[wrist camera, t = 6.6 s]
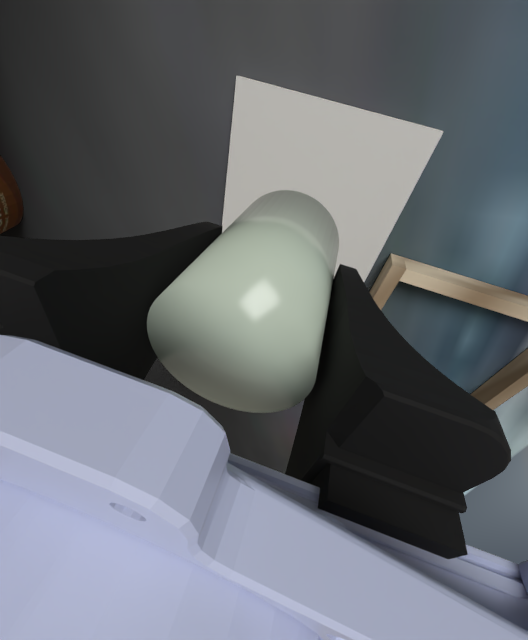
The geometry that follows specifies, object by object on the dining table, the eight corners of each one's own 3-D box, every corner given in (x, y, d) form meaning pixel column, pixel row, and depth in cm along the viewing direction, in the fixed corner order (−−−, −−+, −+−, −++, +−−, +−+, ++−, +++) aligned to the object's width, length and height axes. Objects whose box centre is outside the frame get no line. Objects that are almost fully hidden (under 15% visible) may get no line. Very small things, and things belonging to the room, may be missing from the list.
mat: (441, 130, 13) (443, 131, 13) (354, 298, 20) (354, 301, 19) (239, 75, 14) (236, 75, 13) (221, 254, 20) (218, 257, 20)
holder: (588, 314, 16) (605, 331, 15) (457, 415, 24) (462, 431, 23) (390, 253, 17) (392, 264, 16) (326, 369, 25) (324, 382, 24)
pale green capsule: (309, 324, 15) (277, 453, 10) (229, 297, 16) (157, 407, 10) (356, 208, 11) (347, 323, 6) (245, 176, 11) (137, 254, 6)
